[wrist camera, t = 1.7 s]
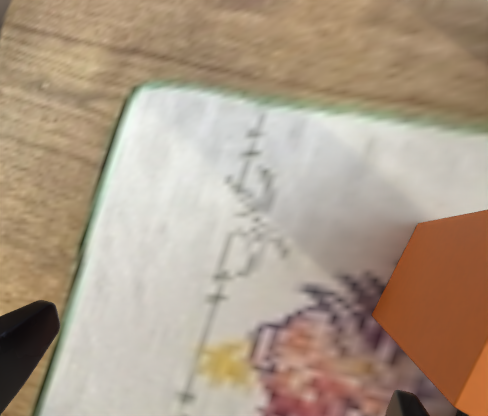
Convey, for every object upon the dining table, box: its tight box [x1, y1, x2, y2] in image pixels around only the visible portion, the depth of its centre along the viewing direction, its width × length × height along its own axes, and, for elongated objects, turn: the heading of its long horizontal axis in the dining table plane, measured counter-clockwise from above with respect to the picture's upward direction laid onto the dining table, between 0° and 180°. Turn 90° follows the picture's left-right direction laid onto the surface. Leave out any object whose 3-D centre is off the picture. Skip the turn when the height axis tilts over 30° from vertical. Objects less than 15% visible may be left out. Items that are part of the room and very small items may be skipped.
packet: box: [372, 210, 488, 416], centre depth 16 cm, size 7×3×13 cm, turn 153°
